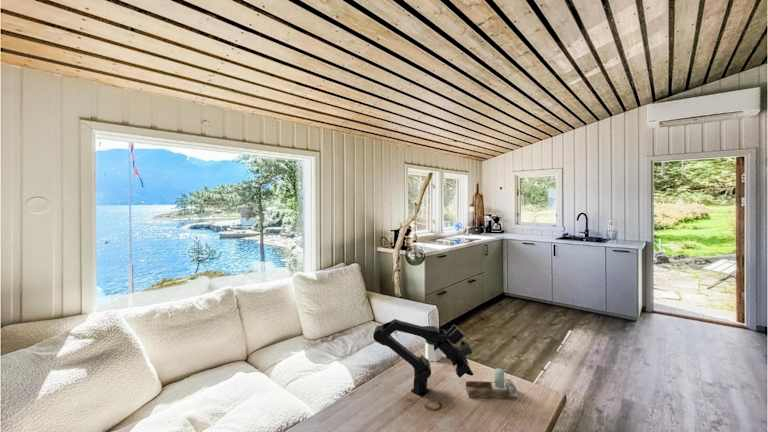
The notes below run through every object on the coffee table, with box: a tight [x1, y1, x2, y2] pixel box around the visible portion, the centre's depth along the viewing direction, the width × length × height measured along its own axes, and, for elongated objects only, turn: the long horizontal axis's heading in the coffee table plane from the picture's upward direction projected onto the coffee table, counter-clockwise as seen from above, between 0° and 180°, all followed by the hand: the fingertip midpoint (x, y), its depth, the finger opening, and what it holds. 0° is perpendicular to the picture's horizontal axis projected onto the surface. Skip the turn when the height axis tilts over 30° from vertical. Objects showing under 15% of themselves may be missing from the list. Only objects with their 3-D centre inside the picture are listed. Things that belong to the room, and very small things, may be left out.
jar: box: [424, 340, 442, 363], centre depth 182 cm, size 9×8×12 cm
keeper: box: [491, 367, 508, 391], centre depth 146 cm, size 6×5×9 cm
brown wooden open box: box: [465, 378, 518, 401], centre depth 147 cm, size 21×8×5 cm, turn 86°
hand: (472, 374), depth 147 cm, fingers closed
